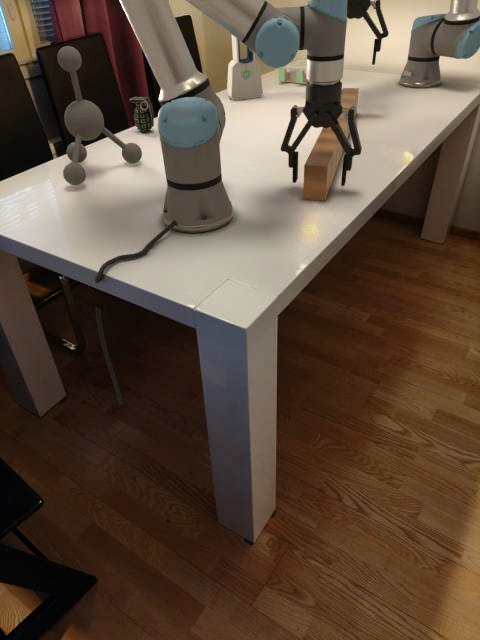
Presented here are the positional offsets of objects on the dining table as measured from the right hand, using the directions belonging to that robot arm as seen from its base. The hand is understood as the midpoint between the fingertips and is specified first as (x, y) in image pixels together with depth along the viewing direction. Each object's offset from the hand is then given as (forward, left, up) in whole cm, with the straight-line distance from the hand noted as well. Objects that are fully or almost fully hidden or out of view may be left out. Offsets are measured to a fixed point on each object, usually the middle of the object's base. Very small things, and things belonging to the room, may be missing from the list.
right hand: (350, 63), depth 150 cm
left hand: (+53, +24, -14) cm, 60 cm away
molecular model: (+74, -32, -16) cm, 82 cm away
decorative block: (-42, -44, -16) cm, 63 cm away
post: (+26, +12, -16) cm, 33 cm away
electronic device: (-6, -48, -16) cm, 51 cm away
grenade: (+45, -49, -16) cm, 68 cm away
